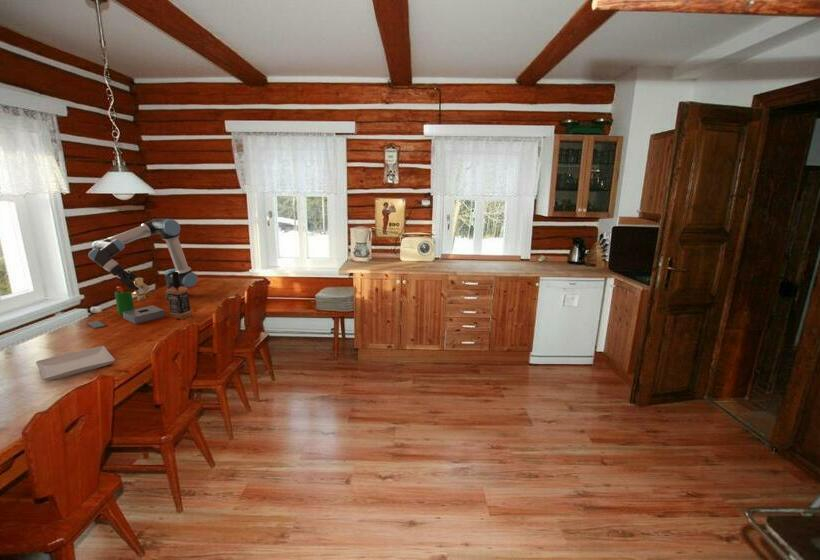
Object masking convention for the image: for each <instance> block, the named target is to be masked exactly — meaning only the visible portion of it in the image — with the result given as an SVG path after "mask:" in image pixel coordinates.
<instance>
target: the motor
mask: <svg viewBox="0 0 820 560" xmlns="http://www.w3.org/2000/svg"><path fill="white" fill-rule="evenodd" d="M114 297H115V303H116V309H117V315H119V316H120V315H123V312H124V311H129V310H133V309H135V307H134V301H133V292H132V291H127V292H125V291H124V289H123V287H122V286H116V287H115V291H114Z"/></svg>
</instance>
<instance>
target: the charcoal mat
mask: <svg viewBox="0 0 820 560" xmlns="http://www.w3.org/2000/svg"><path fill="white" fill-rule="evenodd" d="M86 325H87V326H88V327H90V328H92V329H94V330H95V329H99V328H100V329H101V328H105V327H108V326H109V325H108V324H106V323H104V322H102V321H100V320H99V319H98V320H94V321H91V322H86Z"/></svg>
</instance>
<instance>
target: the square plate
mask: <svg viewBox="0 0 820 560" xmlns="http://www.w3.org/2000/svg"><path fill="white" fill-rule="evenodd" d="M115 360H116V359H115V358H114V357H113V355H112V354H111V353H110V352H109V351H108V349H107V348H106V346H104V345H100V346H96V347H91V348H87V349H81V350H77V351H73V352H68V353H64V354H59V355H56V356H51V357H47V358H43V359H40V360H37V361H36V362H35V364H36V366H37V367H38V369H39V373H40V377H41V379H42V380H45V381H52V380H53V381H54V380H56V379H63V378H67V377H71V376H74V375H77V374H81V373H86V372H88V371H92V370H97V369H100V368H102V367H105V366H108V365H109V366H110V365H111V364H113V363H114V362H115Z"/></svg>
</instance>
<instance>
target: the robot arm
mask: <svg viewBox="0 0 820 560" xmlns="http://www.w3.org/2000/svg"><path fill="white" fill-rule="evenodd" d="M180 231H181V225H180V223H179V222H178V221H176V220H175V219H171V218H155V219H151V220H149V221H145V222H143V223H141V224H140V226H137V227H134V228H131V229H129V230H126V231H124V232H121V233H118V234H115V235H113V236H110V237H107V238H105V239H102V240H95V241H93V242H92V244H91V248H92V250H91V251H89V252H88V254H87V255H88V258H89V259H90V260H92V261H93V262H94V263H96V264H97V265H98V266H100V267H101V268H103V269H104V270H105V271H107V272H109V273H110V274H111V275H112V276H114V277H115V278H116V279H117V280H119V281H120V282H121V283H122V284H124V285H125V286H126V287H128V289H133V290H134V291H135V290H136V291H138V292H139V293H141V294H142V293H143V292H144V290H143V289H141V288H140V287H139V286H137V285H135V284H134V280H133V279H134V278H140V277H139V276H138V275H136V274H134V273H133V272H132V271H130V270H128V271H127V270H125V267H124V266H123V265H122V264H120V263H119V262H118V261H116V260H115V259H113V257H115V256H116V255H117V254H119V253H120V252H122V251H123V250H124V249H125V247H126V246H125V245H126V244H129V243H131V242H135V240H136V241H137V240H139V239H141V238H144V237H146V236H147V237H151V236H153V235H160V237H161V240H163V241H165V244H166V246H167V249H168V252H169V254H170V257H171V260H172V263H173V266H174V268H170V269H166V270H165V271H164V277H165V278H164V279H165V282H166V292H165V299H166V300H168V301H169V297H168V294H167V290H169V289H170V288H172V287H173V284H172V280H173V277H172V272H178V275H179V280H180V285H181V286H182V287H185V288H191V287H194V286H195V285H196V284H197V282H198V275H197V274H196V273H195V272H193V269H192V268H191V267H190V266H188V262H187V259H186V256H185V253H184V250H183V249H182V248H183V247H182V245H181V242H180V239H179V238H180V233H181V232H180ZM143 284H144V289H145V290H147V291H148V292H149V290H150V289H151V287H150V286H149V285H147V284H146V283H144V282H143Z"/></svg>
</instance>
